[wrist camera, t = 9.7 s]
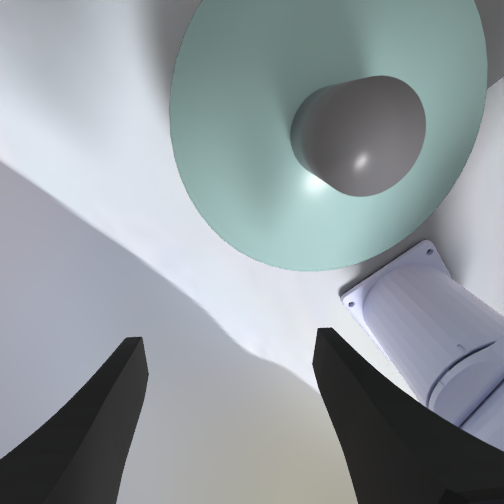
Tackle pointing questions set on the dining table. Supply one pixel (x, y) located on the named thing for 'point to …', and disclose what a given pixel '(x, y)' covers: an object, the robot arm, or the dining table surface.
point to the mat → (493, 36)
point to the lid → (325, 121)
